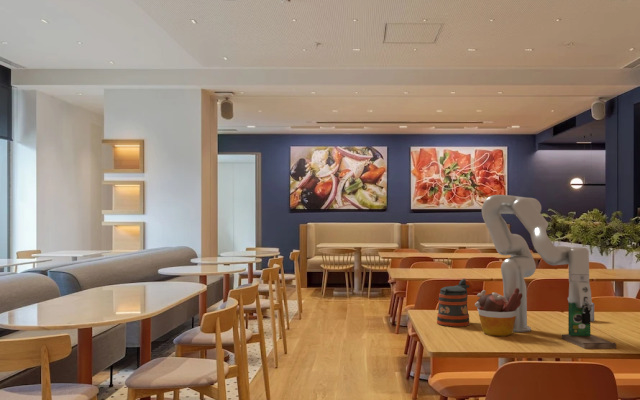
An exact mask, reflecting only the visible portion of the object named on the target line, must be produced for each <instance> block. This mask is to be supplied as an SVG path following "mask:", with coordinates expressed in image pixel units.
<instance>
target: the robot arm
mask: <svg viewBox="0 0 640 400" xmlns="http://www.w3.org/2000/svg"><path fill="white" fill-rule="evenodd" d="M541 212H542V204H541V203H540V200H538V199H537V198H535V197H534V198H533V197H526V196H525V197H524V196H519V195H517V196H516V195H507V194H493V195H489V196H488V197H487V198H486V199H485V200H484V202H483V203H482V205H481V215H482V216H481V217H482V218H483V222H484V224H485V226H486V228H487V229H488V233H489V236H490V238H491V241H492V243H493V245H494V247H495V248H494V249H495V250H496V252H497V253H498V254H499V255H502V256H510V257H508V258H506V259H504V260H503V261H502V263H501V265H500V272H501V277H502V285H503V288H502V289H503V297H505V299H506V300H507V301H509V299H510V297H511V295H512V294H513V293H514V290H515V289H516V288H519V290H520V291H519V293H522V295H523V296H522V298H521V300H520V301H521V304H520V306H519V307H518V308H517V309H516V310H517V314H516V318H515V323H514V328H513V332H514V333H525V332H531V331H532V328H531V327H530V326H528V311H527V310H528V309H527V307H528V306H527V303H528V302H527V301H528V300H527V299H528V298H527V284H526V282H525V278H530V277H532V276H533V275H534V274H535V272H536V267H537V265H536V261H535V259H534V257H533V254H532V252H531V250H530V248H529V245H528V243H527V241H526V240H525V238H524V237H523V236H522V235H520V234H517V233H512V232H511V231H510V229H509V226H508V224H507V222H506V221H505V219H504V218H503V216H502V214H504V215H507V214H509V215H514V216H516V217H517V218H518V220H519V221H520V222H521V223H522V225H523V226H524V228H525V229H526V231H527V232H528V233H529V234H530V239H531V243H532V246H533V247H534V249H535V251H536V253H538V255H539V256H540V258H541V259H542V260H543V261H544V262H545V263H546V264H548V265H550V266H559V265H560V266H562V265H568V283H569V285H568V286H569V287H568V297H567V301H568V302H567V304H568V303H575V304H576V307H578V308H581V310H582V313H581V316H582V324H590V325H591V321H590V314H591V307H592V303H593V302H592V299H593V298H592V288H591V283H590V253H589V252H590V251H589V249H588V248H586V247H578V246H577V247H571V246H563V245H560V246H555V245H554V243H553V242H552V241H551V239H550V238H549V236H548V235H547V228H548V226H549V223H548V221H547V220H546V218H545V217H544V216H543V214H542V213H541ZM584 308H585V310H584ZM513 332H512V333H513Z"/></svg>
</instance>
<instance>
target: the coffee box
mask: <svg viewBox="0 0 640 400" xmlns="http://www.w3.org/2000/svg"><path fill="white" fill-rule="evenodd" d="M567 304H568V309H567V310H568V311H567V312H568V319H567V320H568V327H567V328H568V333H567V334H569V335H570V336H590V334H591V333H592V332H591V323H590V324H582V316H581V313H582V310H581V308H578V307H576V304H575V303H568V302H567ZM584 310H585V308H584Z"/></svg>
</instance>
